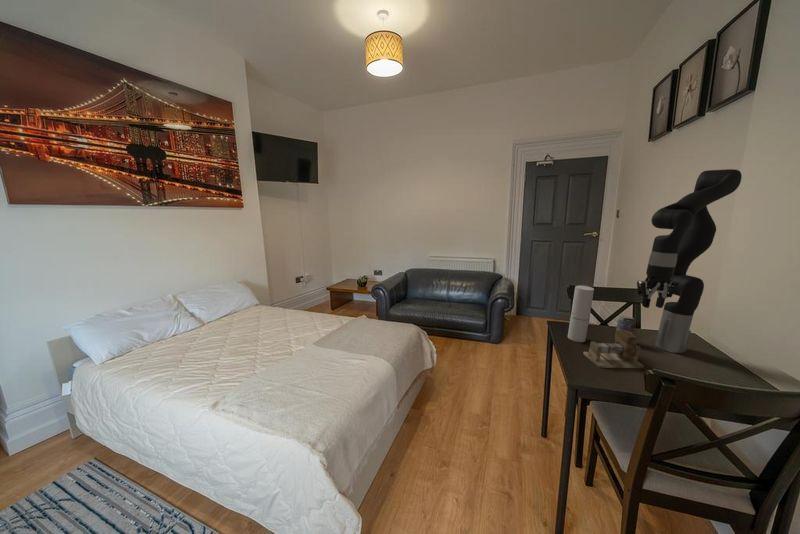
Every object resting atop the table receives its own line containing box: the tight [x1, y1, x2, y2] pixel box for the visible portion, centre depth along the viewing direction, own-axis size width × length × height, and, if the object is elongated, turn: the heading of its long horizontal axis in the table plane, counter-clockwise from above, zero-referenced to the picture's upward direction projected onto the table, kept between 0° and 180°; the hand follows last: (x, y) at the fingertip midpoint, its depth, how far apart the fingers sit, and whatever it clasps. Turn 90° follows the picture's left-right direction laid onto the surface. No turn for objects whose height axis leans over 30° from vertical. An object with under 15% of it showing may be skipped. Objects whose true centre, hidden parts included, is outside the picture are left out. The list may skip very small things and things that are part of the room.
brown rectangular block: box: [613, 330, 638, 360], centre depth 112 cm, size 4×6×10 cm, turn 179°
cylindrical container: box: [567, 285, 595, 343], centre depth 129 cm, size 7×7×25 cm
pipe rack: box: [582, 341, 645, 369], centre depth 113 cm, size 17×10×7 cm, turn 89°
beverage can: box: [614, 315, 636, 338], centre depth 128 cm, size 6×7×12 cm
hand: (652, 306), depth 108 cm, fingers open, 4 cm apart
